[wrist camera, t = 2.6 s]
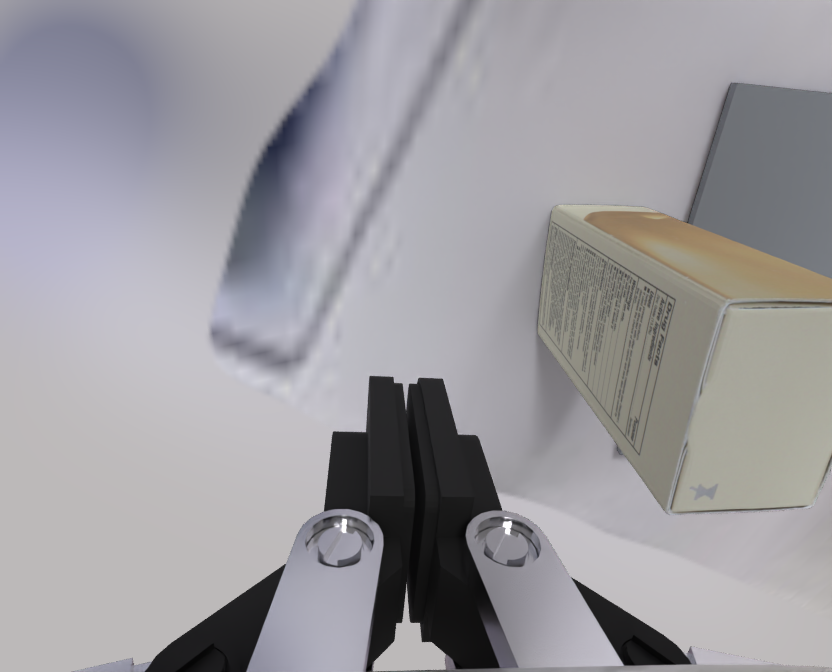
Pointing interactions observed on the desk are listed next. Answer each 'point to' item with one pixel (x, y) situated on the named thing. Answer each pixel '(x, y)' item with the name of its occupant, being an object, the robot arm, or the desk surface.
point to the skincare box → (693, 356)
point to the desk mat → (771, 175)
